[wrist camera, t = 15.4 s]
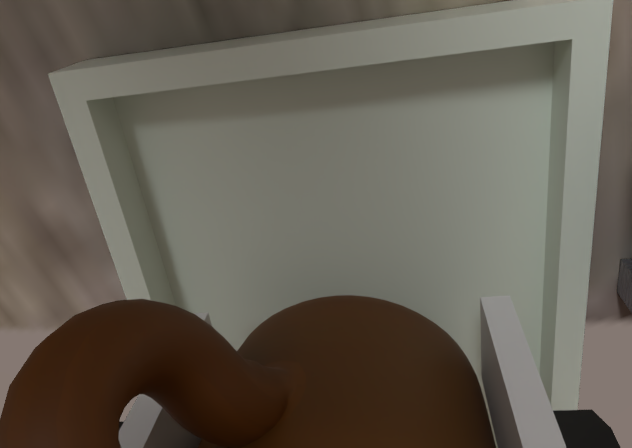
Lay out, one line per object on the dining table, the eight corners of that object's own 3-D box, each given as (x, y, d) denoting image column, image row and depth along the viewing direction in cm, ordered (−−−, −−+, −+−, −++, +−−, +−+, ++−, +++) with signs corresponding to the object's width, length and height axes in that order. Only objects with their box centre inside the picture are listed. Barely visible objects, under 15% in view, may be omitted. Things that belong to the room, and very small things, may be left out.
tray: (212, 462, 23) (198, 505, 21) (85, 60, 16) (47, 73, 14) (552, 459, 21) (569, 507, 19) (583, -10, 14) (613, -5, 12)
